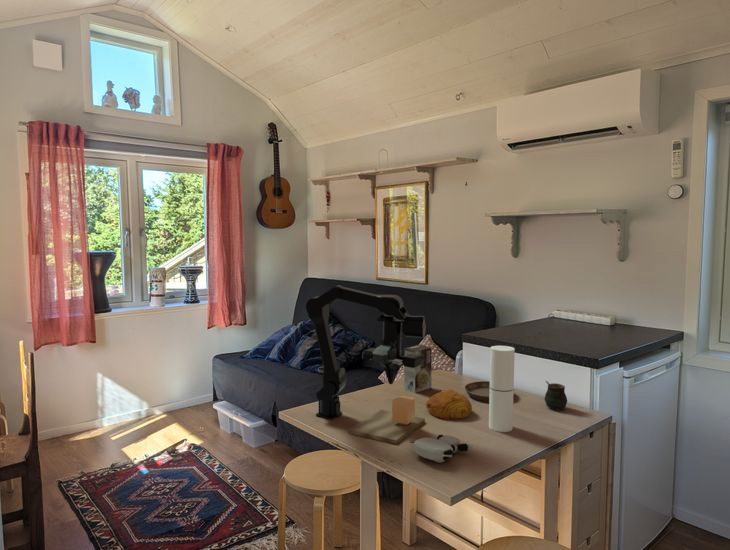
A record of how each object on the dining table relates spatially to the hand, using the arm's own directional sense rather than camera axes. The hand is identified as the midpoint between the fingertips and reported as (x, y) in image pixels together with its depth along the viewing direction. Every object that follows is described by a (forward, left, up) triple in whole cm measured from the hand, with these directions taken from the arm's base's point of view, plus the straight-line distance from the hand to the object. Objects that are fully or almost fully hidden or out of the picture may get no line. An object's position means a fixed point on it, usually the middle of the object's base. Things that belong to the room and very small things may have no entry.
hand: (390, 383), depth 169 cm
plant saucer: (+19, +42, -13) cm, 47 cm away
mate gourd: (+43, +40, -12) cm, 60 cm away
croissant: (+13, +17, -13) cm, 25 cm away
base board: (+2, -5, -12) cm, 13 cm away
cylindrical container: (+32, +13, -12) cm, 36 cm away
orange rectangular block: (+6, -2, -10) cm, 12 cm away
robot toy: (+24, -15, -13) cm, 31 cm away
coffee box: (-7, +36, -12) cm, 38 cm away
